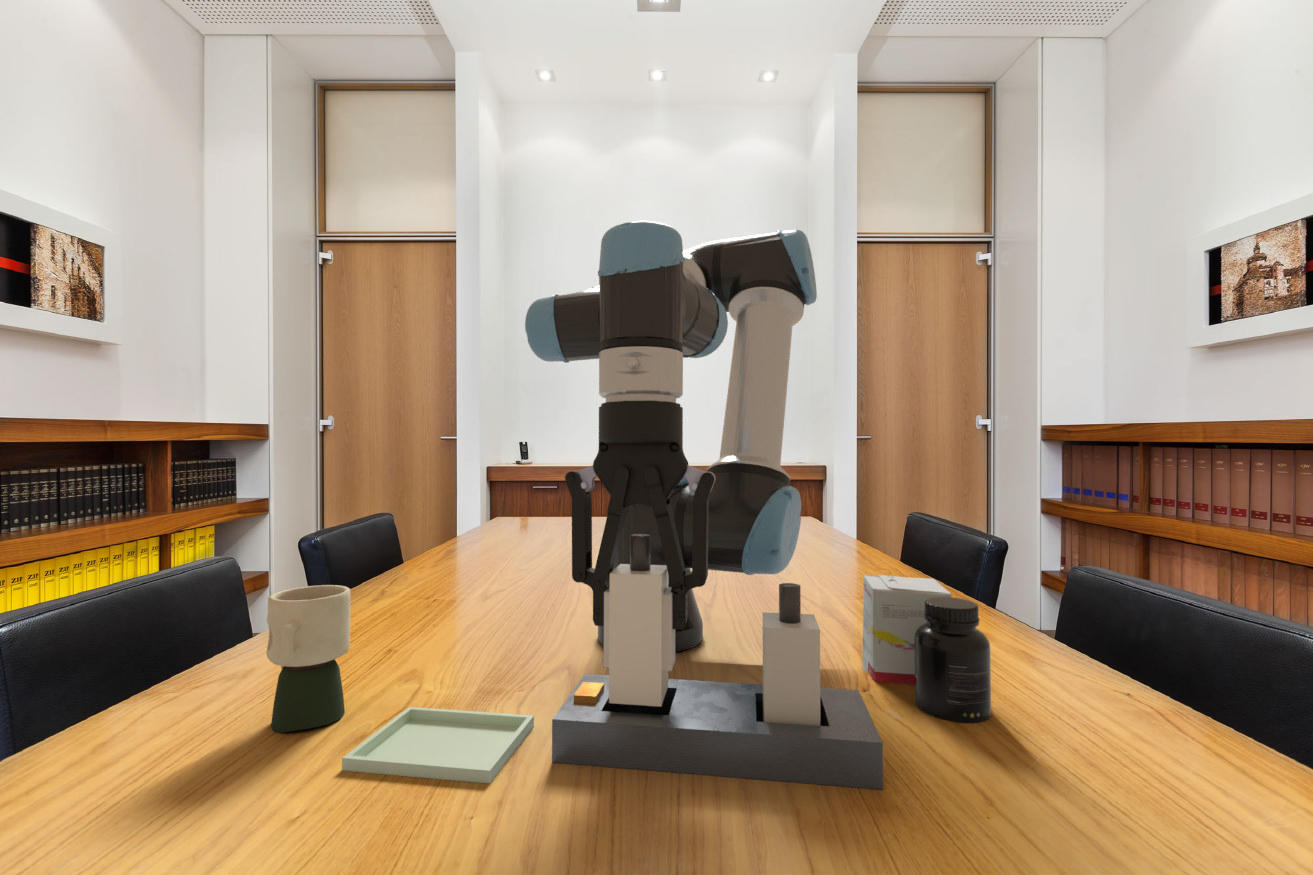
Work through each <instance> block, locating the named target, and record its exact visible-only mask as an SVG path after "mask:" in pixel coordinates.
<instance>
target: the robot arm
mask: <svg viewBox="0 0 1313 875" xmlns="http://www.w3.org/2000/svg"><path fill="white" fill-rule="evenodd" d="M683 248H684V246H683V239H682V235H681V234H680V233H679V231H678V230H676V229H675V228H674V227H672V226H671V225H668V224H665V223H662V222H657V221H649V220H639V221H638V220H636V221H629V222H624V223H620V224H616V225H614V226H611V227H610V228H609V229H608V230H607V231H605V233H604V234H603V236H602V238H601V241H600V251H599V252H600V254H599V255H600V256H599V264H598V265H599V266H598V271H597V276H598V280H599V282H598V283H599V284H598V285H595V286H592V287H591V288H586V289H584V290H580V291H576V292H572V293H567V294H566V293H565V294H561V295H559V294H553V295H552V296H548V297H542V298H539V299H536V300H535V301H533V302H532V303H531V304H530V306H529V307H528V309H527V312H526V315H525V321H524V322H525V323H524V329H525V334H526V337H527V342H528V345H529V348H530V349H531V351H532V352H533V354H534V355H535V356H536V357H537V358H539V359H540V360H542V361H544V362H550V363H551V362H564V363H566V364H567V363H570V362H573V361H588V360H598V395H599V396H600V397H601V398H603V399H605V402H603V403H601V404H600V406H598V450H597V453H596V454H597V455H596V457H595V458H594V460H593V462H592V463H593V464H592V465H589V466H587V467H584V468H582V469H578V470H573V471H568V472H567V473H566V474H565V476H564V479H565V483H566V487H567V489H568V491H569V494H570V497H571V577H572V580H573V582H575V583H581V584H584V585H587V586H588V587H590V589H591V591H592V620H593V624H594V626H597V640H598V642H599V643H600V644H601V645H603V668H609V611H610V573H611V572H612V571H613V570H614V569H615V568H617V567H618V566H619V565H620V564H630V535H633V534H647V535H650V565H666V566H667V571H668V575H669V586H668V588H667V589H666V591H665V592H664V594H663V671H668V672H672V671H673V668H674V665H675V662H676V653H677V652H681V651H685V650H688V649H691V648H695V647H696V646H697V645H699V644H700V643H701V642H702V641H703V638H704V634H703V633H704V623H703V619H702V616H701V613H700V610H699V606H698V602H697V600H696V597H695V596H696V595H695V594H694V590H693V589H694V588H695V589H696V588H701V587H703V586H704V585H706V582H707V578H708V575H709V571H718V572H731V573H740V574H741V573H742V574H745V575H747V576H753V575H776V574H780V573H781V572H783V571H784V570H785V569H786V568H787V567H788V566H789V564H790V562H791V560H792V559H793V557H794V554H795V551H796V548H797V543H798V539H799V535H800V531H801V530H800V529H801V522H802V521H801V520H802V516H801V512H802V498H801V494H800V492H799V490H798V489H797V488H796V487H793V486H792V485H791V476H790V475H789V474H788V473H787V471H785V469H784V468H782V465H781V463H782V462H781V461H782V450H783V439H784V438H783V437H784V429H785V428H784V427H785V426H784V425H785V417H786V416H785V415H786V406H787V405H786V403H787V393H788V382H789V381H788V380H789V370H790V360H791V356H790V355H791V347H792V335H793V334H792V333H793V327H794V326H795V325H796V324H798V323H799V322H801V320H802V318H803V315H804V313H805V306H810V305H811V304H815V302H816V301H817V297H818V296H817V295H818V294H817V281H816V275H815V274H816V273H815V269H814V268H815V267H814V261H813V256H812V255H813V254H812V251H811V246H810V243H809V240H808V237H807V235H806V234H805V233H804V231H802V230H799V229H787V230H780V229H777V230H776V232H771V233H764V234H756V235H747V236H741V237H733V238H726V239H718V240H713V241H712V240H711V241H708V242H704V243H702V244H699V245H696V246H693V247H691V248H688V249H685V250H683ZM727 313H729V315H730V317H731V318H732V320H734V321H735V322H736V323H735V324H736V325H735V332H734V338H733V339H734V340H733V348H732V356H731V363H730V371H729V378H728V379H729V380H728V387H727V396H726V403H725V411H724V419H723V427H722V433H721V434H722V436H721V444H720V451H719V459H717V461H715V462H713V463H712V464H711V465H709V466H708V467H707V469H706V471H704V470H701V469H698V468H696V467H693V466H692V465H691V466H690V465H689V462H688V459H687V457H686V456H685V453H684V448H683V446H684V444H683V443H684V434H683V433H684V432H683V429H684V428H683V424H684V423H683V422H684V421H683V420H684V417H683V416H684V415H683V413H684V411H683V410H684V409H683V407H682V406H681V404H680V403H678V402H677V399H680V398H681V397H682V396H683V394H684V393H683V392H684V391H683V390H684V389H683V388H684V386H683V384H684V382H683V381H684V380H683V379H684V378H683V377H684V374H683V373H684V371H683V370H684V359H688V358H690V359H699V358H700V359H701V358H704V357H707V356H709V355H711V354H712V353H714V352H715V351H716V350H717V349H718V348H719V347H720V346H721V344H723V342H724V340H725V338H726V335H727V332H728V326H729V321H728V315H727ZM596 478H598V480H599V481H600V483H601V484H602V485H603V486H604V488H605V489H606V491H607V493H608V494H609V495H610V498H609V501H608V506H607V511H606V512H607V515H606V521H605V524H604V529H603V533H602V536H601V541H600V545H599V550H598V555H597V558H596V562H595V567H593V519H592V518H593V504H592V503H593V502H592V499H593V498H592V492H591V491H593V489H594V488H595V486H596V484H595V482H596V481H595V480H596Z"/></svg>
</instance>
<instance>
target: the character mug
mask: <svg viewBox="0 0 1313 875" xmlns="http://www.w3.org/2000/svg"><path fill="white" fill-rule="evenodd" d="M266 621H267V625H268V630H269V632H268V634H269V635H268V643H267V647H266V648H267V649H266V657H267V659H268V660H269V662H271V663H272V664H274V665H276V666H280V669H281V671H280V673H278V674H279V675H278V677H277V684H276V687H275V688H276V689H275V694H274V700H273V704H272V705H273V706H272V707H273V708H272V715H271V723H270V724H271V729H272V731H275V732H276V733H280V734H281V733H282V734H283V733H287V732H294V731H299V730H301V731H302V730H307V729H308V730H309V729H313V728H317V727H322V726H323V727H324V726H326V725H330V724H331V723H335V722H337V721H339V720H340V719H341V718H342V717H343V716H344V715H345V712H346V711H345V699H344V691H343V685H342V684H343V683H342V676H341V670H340V666H339V664H338V662H337V661H336V659H339V658H341V657H343V656H345V655H346V654H347V653H348V651H349V649H350V643H351V588H349V587H347V586H345V585H339V584H338V585H337V584H335V585H334V584H321V585H308V586H302V587H293V588H290V589H285V590H281V591H278V592H274V593H272V594H270V595H269V596H268V598H267V616H266Z"/></svg>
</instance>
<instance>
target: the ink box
mask: <svg viewBox="0 0 1313 875" xmlns="http://www.w3.org/2000/svg"><path fill="white" fill-rule="evenodd" d="M862 580H863V584H862V585H863V587H862V588H863V590H862V591H863V592H862V595H863V596H862V598H863V599H862V651H861V652H862V654H861V656H862V657H861V658H862V659H861V661H862V662H861V664H862V665H861V668H862V670H863V672H868V673H869V676H870V678H871V680H872V681H874V682H877V683H890V684H903V685H905V684H906V685H915V649H914V639H915V632H916V630H917V629H918V628H919V627H920V626H921V625H923V624H925V623H927V620H925V618H924V613H925V600H926V599H927V598H931V597H953V596H952V593H951V592H950V591H948V590H947V588H945V587H944V586H943V585H942V584H941V583H939V582H938V581H937V580H936V579H935V578H928V577H927V578H925V577H906V576H905V577H904V576H897V575H896V576H894V575H886V574H885V575H883V574H881V575H880V574H879V575H871V574H869V575H867V574H864V575H863V578H862Z"/></svg>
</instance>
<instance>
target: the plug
mask: <svg viewBox="0 0 1313 875" xmlns="http://www.w3.org/2000/svg"><path fill="white" fill-rule="evenodd" d="M668 586H669V575H668V571H667V566H666V565H650V535H647V534H633V535H630V564H620V565H619V566H618V567H617V568H615V569H614V570H613V571H612V572H611V573H610V611H609V667H608V671H609V672H608V675H609V703H615V704H629V705H644V706H659V707H661V706H662V703H663V700H664V697H665V694H666V691H667V688H668V679H669V671H663V594H664V592H665V591H666V589H667V588H668Z"/></svg>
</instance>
